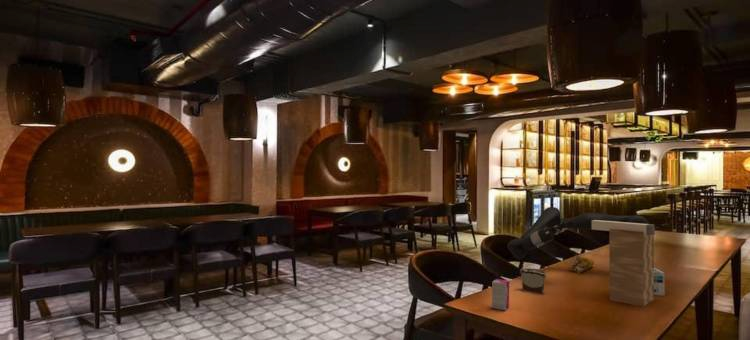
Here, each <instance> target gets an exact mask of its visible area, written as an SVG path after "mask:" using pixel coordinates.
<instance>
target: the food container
mask: <svg viewBox="0 0 750 340" xmlns="http://www.w3.org/2000/svg"><path fill="white" fill-rule="evenodd" d="M519 274H520V277H521V286H522V291H523V292H529V293H533V294H537V295H538V294H539V295H543V294H544V289H545V280H546V278H547V273H546V271H545V270H543V269H538V268H520V270H519Z"/></svg>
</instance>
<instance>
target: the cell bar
mask: <svg viewBox="0 0 750 340" xmlns="http://www.w3.org/2000/svg"><path fill="white" fill-rule="evenodd" d="M592 229H593V230H592V231H606V232H610V229H619V230H630V231H641V232H644V234H646V235H653V234H654V235H655V231H656V230H655V229H656V228H655V224H652V223H651V224H650V223H649V224H640V223H627V222H615V221H602V220H592Z"/></svg>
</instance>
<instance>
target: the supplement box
mask: <svg viewBox="0 0 750 340" xmlns="http://www.w3.org/2000/svg"><path fill="white" fill-rule="evenodd" d="M491 284H492V285H491V286H492V287H491V310H495V311H501V312H506V311H507V310H508V309H509V308H510V280H508V279H507V280H506V279H499V278H496V279H494V280H493V281H492V282H491Z"/></svg>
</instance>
